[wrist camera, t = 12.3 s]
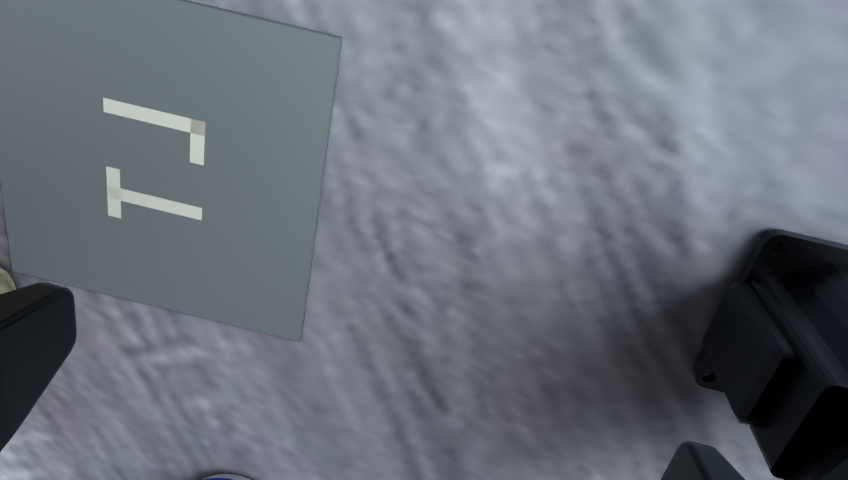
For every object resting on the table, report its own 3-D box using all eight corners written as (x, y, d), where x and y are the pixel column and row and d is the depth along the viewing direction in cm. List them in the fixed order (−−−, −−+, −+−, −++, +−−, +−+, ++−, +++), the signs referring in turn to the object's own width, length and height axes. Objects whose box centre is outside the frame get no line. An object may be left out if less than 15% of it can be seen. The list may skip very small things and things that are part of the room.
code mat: (342, 37, 20) (339, 38, 19) (301, 337, 25) (299, 342, 25) (-23, -50, 20) (-31, -49, 20) (17, 267, 26) (11, 271, 25)
